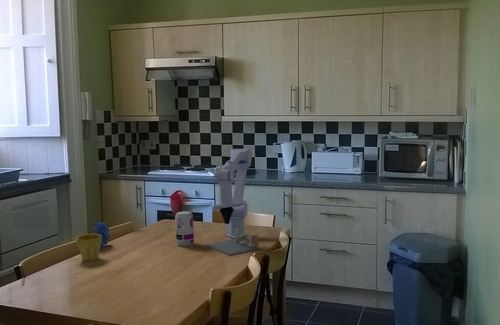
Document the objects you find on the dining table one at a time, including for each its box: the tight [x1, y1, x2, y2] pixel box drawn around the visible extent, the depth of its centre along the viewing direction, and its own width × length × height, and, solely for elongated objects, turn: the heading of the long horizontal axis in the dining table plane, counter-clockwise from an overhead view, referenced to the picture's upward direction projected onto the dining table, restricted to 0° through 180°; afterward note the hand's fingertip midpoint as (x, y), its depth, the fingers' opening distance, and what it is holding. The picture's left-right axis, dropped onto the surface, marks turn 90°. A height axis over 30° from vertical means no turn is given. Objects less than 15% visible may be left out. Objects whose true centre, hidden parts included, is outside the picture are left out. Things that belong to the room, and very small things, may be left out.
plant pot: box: [75, 233, 102, 262], centre depth 224 cm, size 10×10×10 cm
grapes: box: [92, 221, 111, 248], centre depth 243 cm, size 12×7×12 cm, turn 160°
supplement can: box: [174, 210, 195, 247], centre depth 243 cm, size 8×8×15 cm
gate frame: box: [205, 229, 261, 256], centre depth 235 cm, size 21×16×7 cm
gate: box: [238, 233, 255, 247], centre depth 235 cm, size 11×1×4 cm, turn 36°
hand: (227, 223), depth 241 cm, fingers closed
